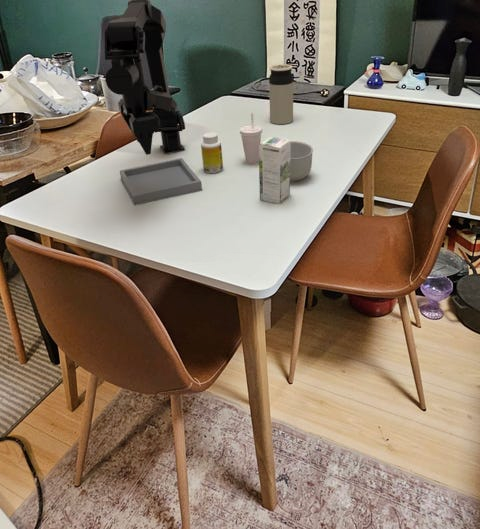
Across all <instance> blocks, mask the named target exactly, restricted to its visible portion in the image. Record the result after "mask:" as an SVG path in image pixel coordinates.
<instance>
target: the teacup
mask: <svg viewBox="0 0 480 529" xmlns="http://www.w3.org/2000/svg"><path fill="white" fill-rule="evenodd" d="M290 141H291V155H290V182H298V181H301V180H302V179H304V178H306V176H308V175H309V174H310V173H311V171H312V166H313V165H312V164H313V152H314V148H313V147H312V146H311V145H310V144H308V143H306V142H302V141H298V140H297V141H293V140H290Z"/></svg>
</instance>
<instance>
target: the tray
mask: <svg viewBox="0 0 480 529" xmlns="http://www.w3.org/2000/svg"><path fill="white" fill-rule="evenodd" d="M119 174H120V179H121V181H122V183H123V185H124V188H125V189H126V191H127V194H128V196H129V197H130V199H131V201H132V203H133V205H134V206H137V205H136V204H138V205H142V204H145V203H150V202H155V201H159V200H164V199H169V198H173V197H177V196H182V195H186V194H190V193H195V192H200V191H203V186H202V185H203V184H202V180H201V179H200V178H199V177H198V175H197V174H196V173H195V172H194V171H193V169H192V168H191V167H190V165H188V164H187V163H186V161H185V160H184V158H182V157H180V158H176V159H170V160H166V161H160V162H155V163H151V164H145V165H140V166H136V167H135V166H134V167H131V168H125V169H121V170H119ZM141 203H142V204H141Z"/></svg>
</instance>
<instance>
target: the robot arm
mask: <svg viewBox="0 0 480 529" xmlns="http://www.w3.org/2000/svg"><path fill="white" fill-rule="evenodd" d="M166 24H167V23H166V19H165V17H164V15H163V12H162V10H161V9H159V8H158V7H156V6H154V5H152V2H151V1H150V0H129V1H128V2H127V8H126V9H125V10H124V12H123V14H122V15H121V17H120V18H117V19H113V20H112V19H111V20H110V21H109V22H108V23H107V24H106V27H105V29H104V60H105V61H110V62H111V67H110V68H109V69H108V70H107V71H106V73H105V81H104V82H105V83H106V86H107V88H108V90H110V91H111V92H112V93H113V94H116V95H120V96H121V97H122V98H120V100H118V102H117V106H118V110H119V112H120V115H121V116H122V118H123V120H124V122H125V123H126V125H127V126H128V128H129V130H130V132H131V133H132V135H133V136H134V138H135V139H136V141H137V143H139V145H140V146H141V148H142V150H143V152H144V154H145V155H146V156H148V155H151V153H152V147H153V146H152V145H153V144H152V143H153V137H154V134H155V133H160V136H161V137H160V138H161V145H160V146H159V148H160V149H161V151H162V152H163V153H164V154H170V153H175V152H176V153H177V152H181V151H185V150H186V149H185V147H184V146H183V144H182V142H181V141H182V140H181V134H180V132H183V131H184V130H186V123H185V120H184V117H183V115H182V113H181V111H180V110H179V107H178V103H177V101H176V100H174V97H173V96H172V95H171V93H170V88H169V83H168V82H169V81H168V76H167V71H166V66H165V59H164V54H163V53H164V52H163V48H162V45H163V43H164V40H165V36H166V32H167V25H166ZM143 54H145V58H146V61H147V66H148V72H149V76H150V81H151V82H150V83H151V87H152V89H150V88H149V86H147V84H146V78H145V72H144V67H143V66H144V65H143V59H142V58H143Z"/></svg>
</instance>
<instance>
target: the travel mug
mask: <svg viewBox="0 0 480 529" xmlns="http://www.w3.org/2000/svg"><path fill="white" fill-rule="evenodd" d="M292 69H293V65H292V64H286V63H280V64H274V65H271V66H269V70H270V75H269V77H268V83H269V84H268V86H269V87H268V88H269V89H268V90H269V120H270V123H272V124H275V125H287V124H290V123H292V122H294V75H293V74H292Z"/></svg>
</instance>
